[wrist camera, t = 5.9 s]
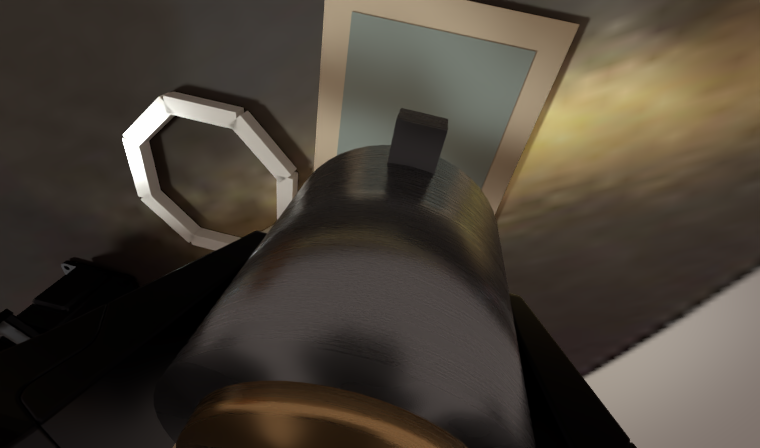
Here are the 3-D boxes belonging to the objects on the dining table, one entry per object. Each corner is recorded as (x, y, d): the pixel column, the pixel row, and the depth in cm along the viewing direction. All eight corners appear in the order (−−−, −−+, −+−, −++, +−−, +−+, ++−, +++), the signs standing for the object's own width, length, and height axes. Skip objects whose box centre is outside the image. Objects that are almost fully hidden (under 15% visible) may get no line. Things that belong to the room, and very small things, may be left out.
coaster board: (487, 226, 21) (488, 230, 21) (314, 184, 22) (312, 188, 21) (576, 23, 15) (580, 25, 15) (329, -30, 15) (326, -30, 15)
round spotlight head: (555, 140, 7) (746, 442, 3) (450, 346, 12) (448, 598, 7) (298, 79, 8) (27, 253, 3) (290, 303, 12) (180, 520, 7)
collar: (294, 261, 26) (290, 269, 25) (157, 227, 26) (149, 234, 26) (300, 120, 20) (294, 126, 19) (118, 78, 20) (106, 82, 19)
